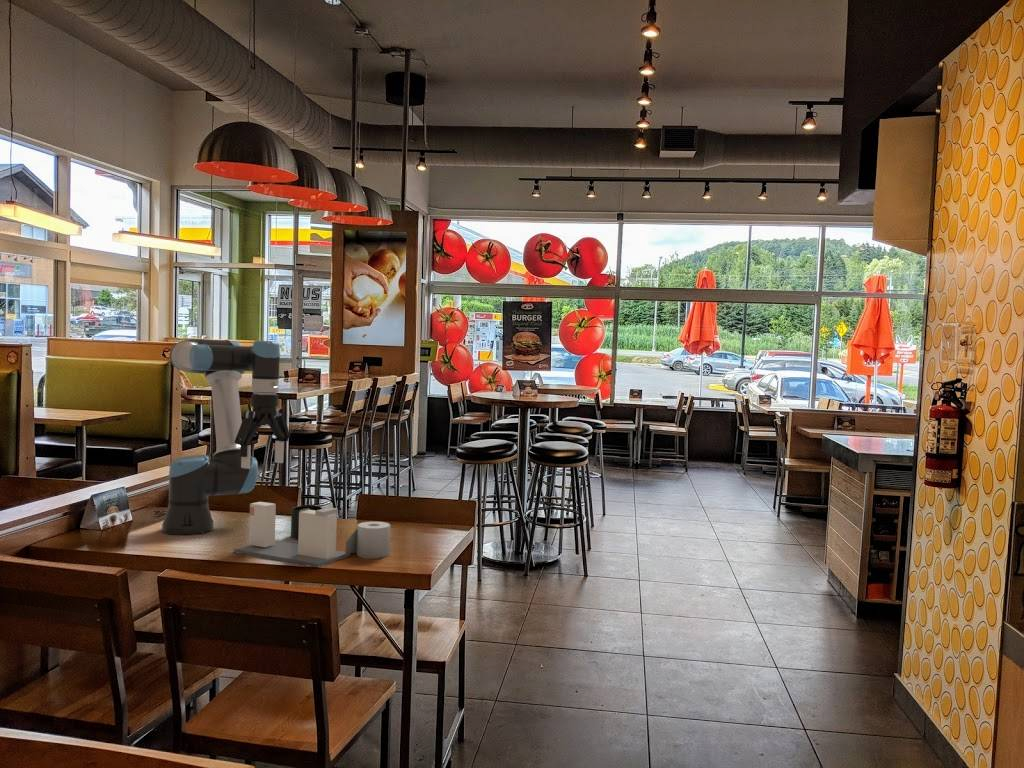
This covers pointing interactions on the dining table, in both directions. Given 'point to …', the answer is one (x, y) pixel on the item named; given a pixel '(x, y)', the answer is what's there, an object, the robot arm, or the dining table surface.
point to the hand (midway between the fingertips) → (262, 465)
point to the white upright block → (262, 524)
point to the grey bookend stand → (306, 541)
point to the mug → (296, 519)
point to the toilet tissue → (370, 540)
